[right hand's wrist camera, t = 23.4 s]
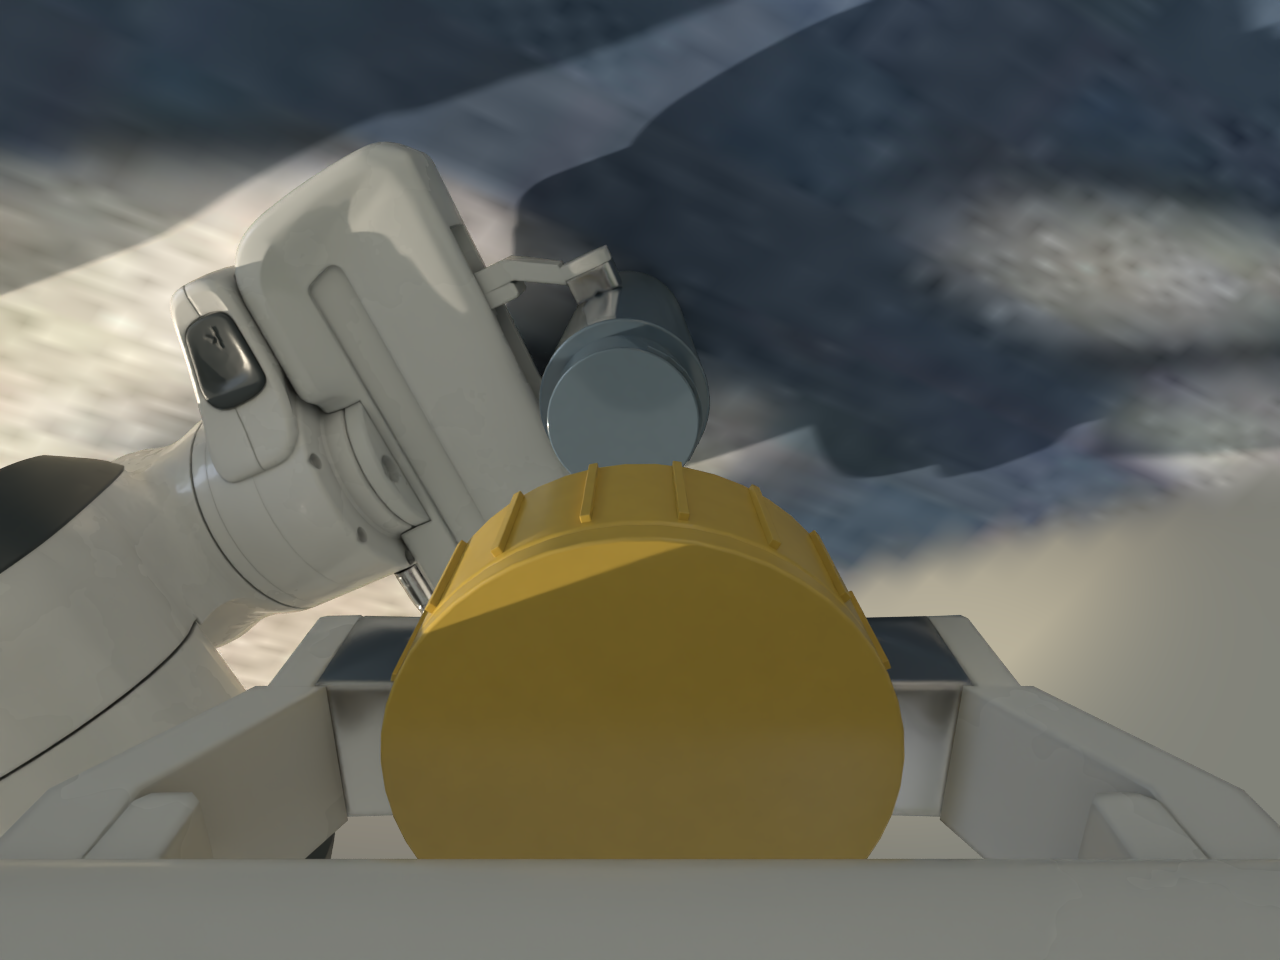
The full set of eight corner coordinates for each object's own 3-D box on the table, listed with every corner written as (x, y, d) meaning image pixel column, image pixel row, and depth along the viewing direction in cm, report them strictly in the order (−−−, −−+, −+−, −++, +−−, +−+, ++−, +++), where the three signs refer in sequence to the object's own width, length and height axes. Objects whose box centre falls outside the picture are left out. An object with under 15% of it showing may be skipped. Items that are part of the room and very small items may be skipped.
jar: (653, 397, 36) (665, 537, 22) (557, 351, 35) (501, 465, 21) (702, 300, 35) (749, 381, 20) (602, 251, 34) (576, 297, 19)
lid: (484, 396, 9) (440, 457, 7) (931, 536, 10) (1009, 629, 8) (385, 767, 11) (327, 902, 9) (764, 865, 11) (791, 1010, 9)
